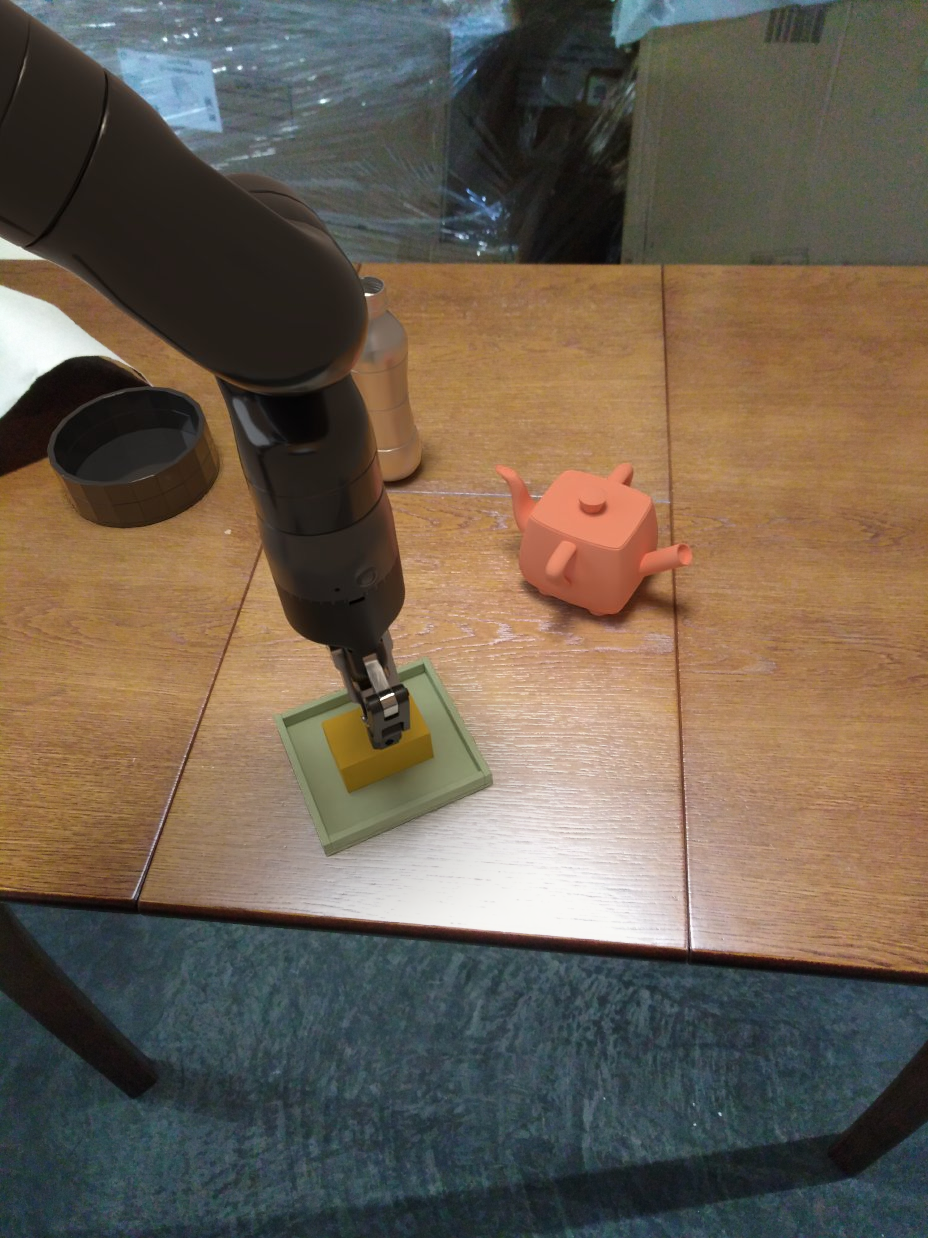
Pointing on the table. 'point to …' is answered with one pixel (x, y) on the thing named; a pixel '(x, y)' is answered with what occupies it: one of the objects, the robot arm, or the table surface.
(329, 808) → the tray
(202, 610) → the table surface
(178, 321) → the robot arm
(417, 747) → the sponge
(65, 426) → the bowl
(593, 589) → the teapot
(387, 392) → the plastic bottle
